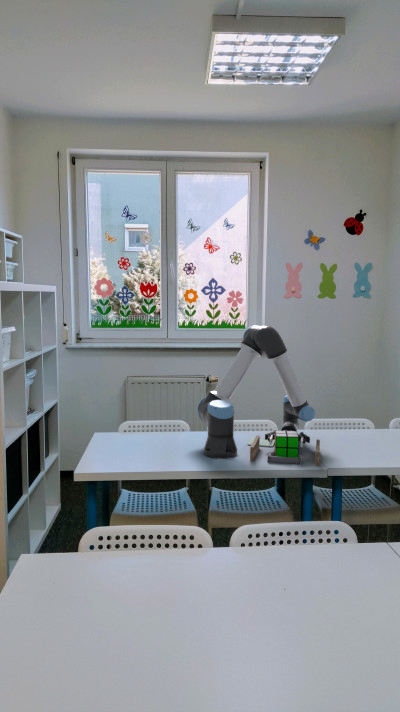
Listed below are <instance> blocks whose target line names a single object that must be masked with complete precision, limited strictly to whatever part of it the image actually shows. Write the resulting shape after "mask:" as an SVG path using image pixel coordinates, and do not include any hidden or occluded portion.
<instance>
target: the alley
mask: <svg viewBox="0 0 400 712" xmlns="http://www.w3.org/2000/svg"><path fill="white" fill-rule="evenodd" d="M254 438H255V439H254V441H253V443H252V445H251V446H249V449H250V450H249V453H250V454H249V461H250V462H254V461H255V458H256V456H257V454H258V452H259V450H260V446H259V443H260V435H255V437H254ZM320 444H321V439H318V438H317V439H316V443H315V465H314V466H315V467H319V466H320V447H321V445H320Z"/></svg>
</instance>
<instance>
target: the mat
mask: <svg viewBox="0 0 400 712" xmlns="http://www.w3.org/2000/svg"><path fill="white" fill-rule="evenodd" d="M254 439H255V437H251V438H250V439H249V441H248V443H247V446H249V447H251V445H252V443H253V441H254ZM274 446H275V440H273V442H272V444H271V445H270V442H269V441H268V440H265V438H260V443H259V447H263V448H264V447H265V448H274Z"/></svg>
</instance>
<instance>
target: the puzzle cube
mask: <svg viewBox="0 0 400 712" xmlns="http://www.w3.org/2000/svg"><path fill="white" fill-rule="evenodd" d="M297 433H298V431H297V432H296V431H281V430H276V431H275V443H274V446H273V448H274V449H273V450H274V456H279V457H292V458H298V456H299V455H300V454H299V451H300V450H299V447H300V445H299V443H300V441H299V436H298V434H299V433H298V434H297Z"/></svg>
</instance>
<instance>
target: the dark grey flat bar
mask: <svg viewBox="0 0 400 712" xmlns="http://www.w3.org/2000/svg"><path fill="white" fill-rule="evenodd" d="M266 461H267V463H275V464H287V465H296V466H297V465H298V466H301V465H302V455H301V454H298V458H292V457H279V456H275V455H272V452H268V455H267V460H266Z"/></svg>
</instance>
